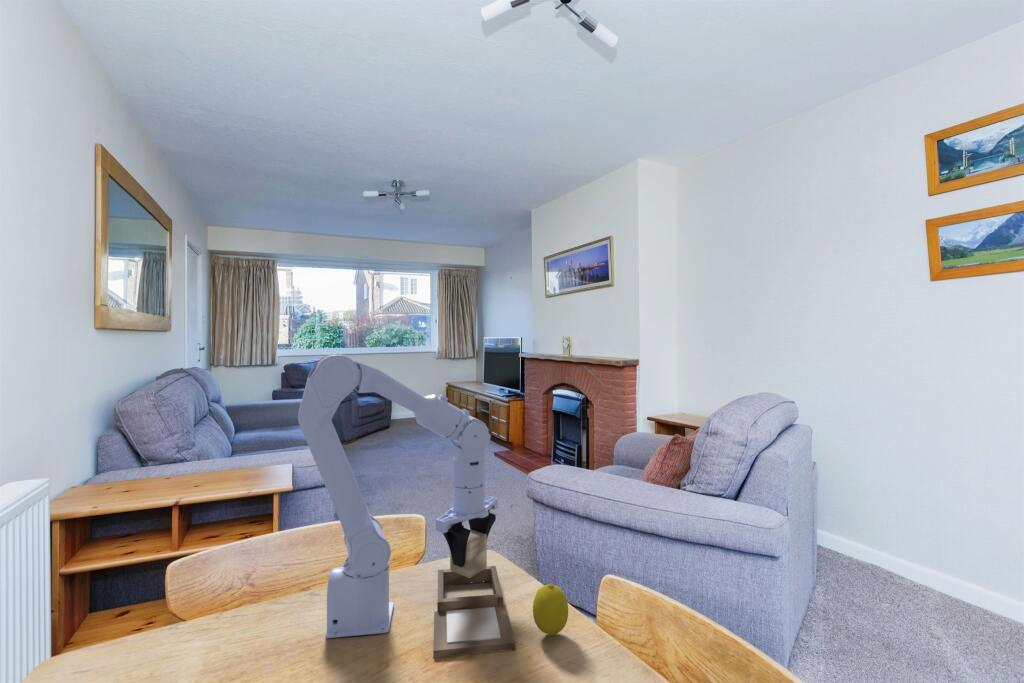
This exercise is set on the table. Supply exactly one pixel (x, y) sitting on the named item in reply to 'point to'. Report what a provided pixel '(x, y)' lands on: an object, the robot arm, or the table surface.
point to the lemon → (550, 609)
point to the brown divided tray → (471, 618)
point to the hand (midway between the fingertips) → (468, 559)
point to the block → (473, 555)
